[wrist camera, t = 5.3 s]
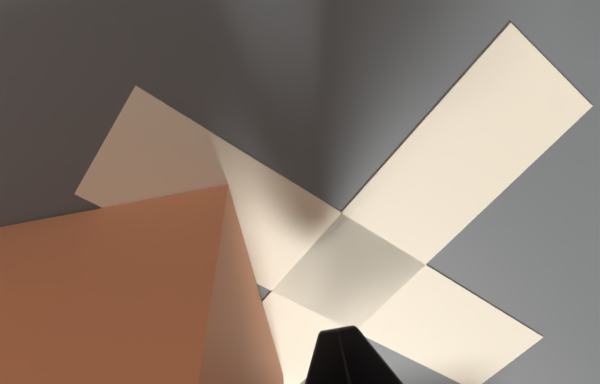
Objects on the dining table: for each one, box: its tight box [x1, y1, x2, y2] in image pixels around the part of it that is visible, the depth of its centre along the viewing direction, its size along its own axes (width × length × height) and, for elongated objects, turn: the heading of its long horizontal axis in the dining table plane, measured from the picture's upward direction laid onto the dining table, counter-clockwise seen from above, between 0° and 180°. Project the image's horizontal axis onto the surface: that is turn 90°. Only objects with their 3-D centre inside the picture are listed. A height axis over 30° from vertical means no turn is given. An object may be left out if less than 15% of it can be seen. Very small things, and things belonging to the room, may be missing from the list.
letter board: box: [0, 0, 600, 384], centre depth 10 cm, size 16×14×1 cm
